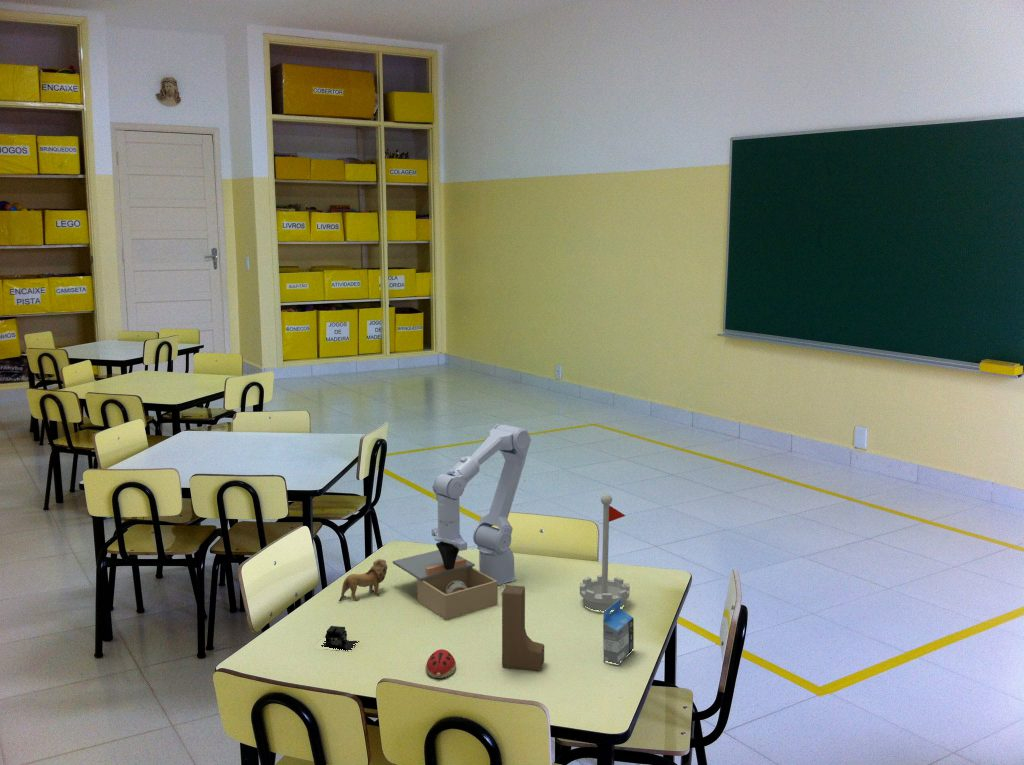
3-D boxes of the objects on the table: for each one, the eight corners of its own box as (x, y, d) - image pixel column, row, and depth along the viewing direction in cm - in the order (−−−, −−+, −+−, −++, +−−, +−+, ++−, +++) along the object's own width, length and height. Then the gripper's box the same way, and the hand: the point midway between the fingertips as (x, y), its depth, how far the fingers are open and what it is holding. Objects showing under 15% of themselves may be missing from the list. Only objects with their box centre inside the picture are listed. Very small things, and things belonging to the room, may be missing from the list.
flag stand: (572, 609, 231) (574, 498, 225) (587, 591, 243) (589, 484, 237) (621, 618, 226) (624, 504, 221) (634, 598, 238) (637, 490, 233)
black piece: (305, 651, 209) (305, 633, 208) (317, 637, 216) (317, 620, 215) (356, 656, 207) (355, 637, 206) (366, 641, 214) (366, 624, 213)
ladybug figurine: (456, 659, 204) (456, 645, 204) (455, 681, 195) (455, 665, 194) (427, 659, 204) (426, 645, 204) (424, 681, 194) (424, 666, 194)
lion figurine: (381, 586, 246) (381, 555, 244) (392, 592, 242) (391, 560, 240) (334, 600, 236) (333, 568, 235) (344, 606, 232) (343, 574, 231)
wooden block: (544, 662, 203) (545, 587, 200) (541, 671, 198) (541, 595, 195) (505, 658, 205) (505, 584, 202) (501, 667, 200) (501, 592, 197)
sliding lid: (445, 550, 254) (445, 542, 253) (474, 566, 242) (474, 557, 241) (392, 563, 244) (392, 554, 244) (420, 580, 232) (420, 571, 232)
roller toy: (471, 605, 233) (471, 584, 232) (447, 608, 231) (447, 587, 230) (467, 598, 237) (466, 578, 236) (443, 601, 235) (443, 581, 234)
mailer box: (468, 587, 245) (468, 564, 244) (497, 604, 234) (497, 581, 232) (417, 601, 235) (417, 578, 234) (445, 620, 224) (445, 595, 223)
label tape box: (617, 666, 201) (619, 615, 199) (601, 662, 203) (602, 611, 201) (634, 651, 208) (635, 601, 206) (618, 647, 210) (619, 597, 208)
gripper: (421, 515, 237) (422, 563, 240) (450, 529, 226) (451, 580, 228) (444, 510, 241) (444, 558, 244) (473, 524, 230) (474, 574, 232)
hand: (449, 568), depth 236 cm, fingers closed
